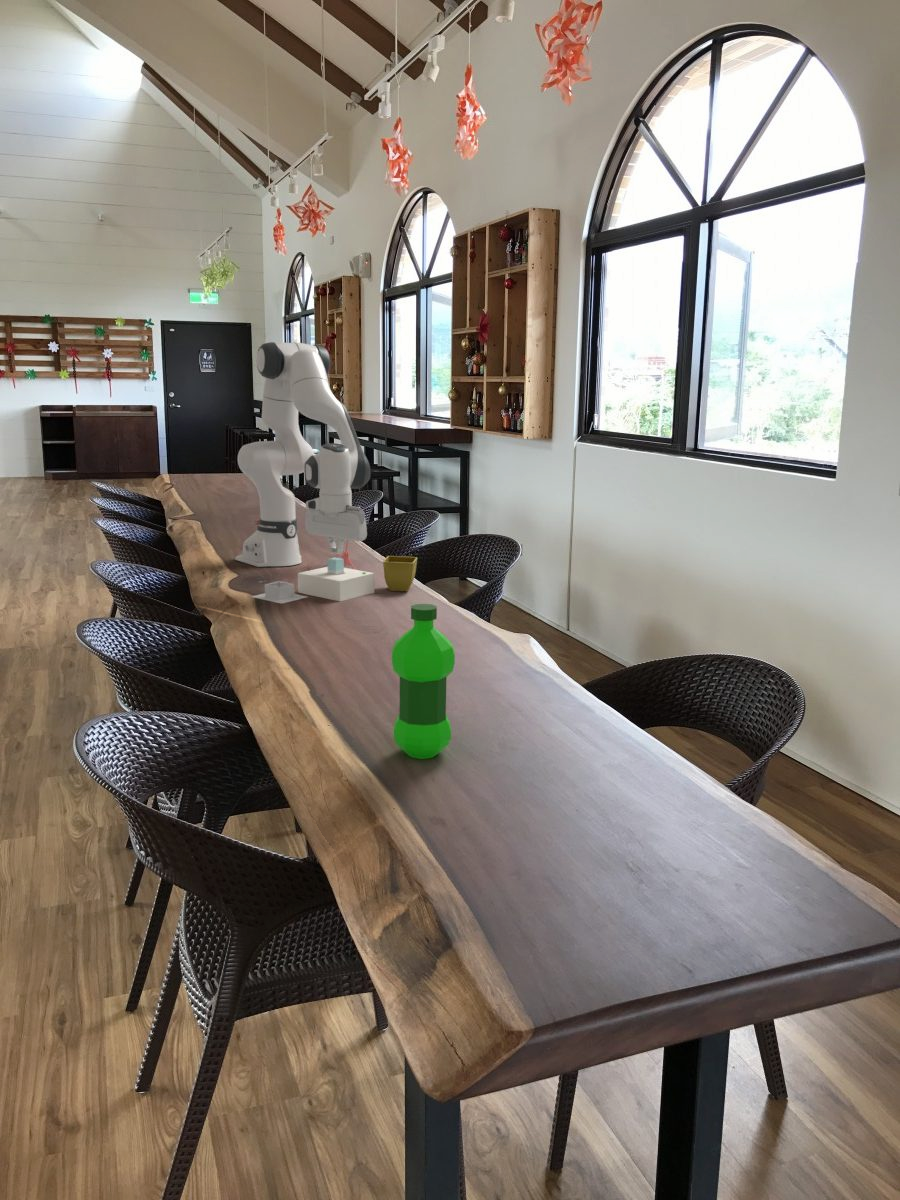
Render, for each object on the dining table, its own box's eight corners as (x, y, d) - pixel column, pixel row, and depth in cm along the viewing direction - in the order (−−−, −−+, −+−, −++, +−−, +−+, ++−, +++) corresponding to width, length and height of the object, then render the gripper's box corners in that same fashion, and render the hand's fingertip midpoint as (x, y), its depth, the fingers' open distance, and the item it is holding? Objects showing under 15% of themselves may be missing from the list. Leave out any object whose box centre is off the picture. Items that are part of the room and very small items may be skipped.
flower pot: (417, 587, 279) (417, 556, 276) (413, 593, 270) (413, 562, 268) (387, 585, 279) (387, 555, 277) (382, 592, 271) (382, 561, 269)
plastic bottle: (451, 740, 164) (453, 599, 158) (453, 765, 154) (456, 615, 148) (392, 740, 164) (393, 598, 158) (391, 765, 154) (391, 614, 148)
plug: (327, 590, 268) (327, 559, 265) (335, 588, 270) (335, 557, 268) (336, 592, 266) (335, 560, 264) (343, 590, 268) (343, 558, 266)
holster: (250, 598, 261) (250, 584, 260) (277, 592, 269) (277, 578, 268) (281, 605, 254) (281, 590, 253) (308, 598, 262) (308, 584, 261)
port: (298, 594, 267) (297, 571, 266) (332, 585, 278) (332, 564, 277) (340, 603, 258) (340, 579, 256) (374, 594, 269) (374, 571, 267)
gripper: (371, 506, 258) (372, 556, 262) (317, 499, 270) (318, 547, 273) (356, 508, 254) (356, 559, 257) (301, 501, 265) (302, 550, 269)
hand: (336, 553), depth 265 cm, fingers closed
